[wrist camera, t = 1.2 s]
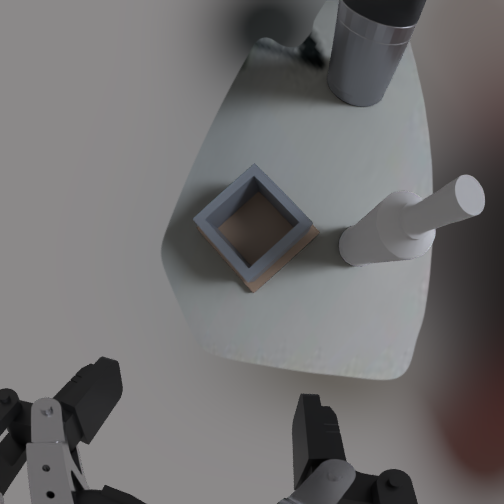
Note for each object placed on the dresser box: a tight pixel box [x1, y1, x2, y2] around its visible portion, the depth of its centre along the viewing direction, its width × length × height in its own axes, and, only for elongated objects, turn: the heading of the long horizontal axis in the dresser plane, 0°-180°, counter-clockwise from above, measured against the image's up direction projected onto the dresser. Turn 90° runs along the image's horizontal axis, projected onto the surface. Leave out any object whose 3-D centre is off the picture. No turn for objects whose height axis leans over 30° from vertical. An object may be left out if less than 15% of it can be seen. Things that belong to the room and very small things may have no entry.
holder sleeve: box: [193, 163, 320, 293], centre depth 34 cm, size 11×11×7 cm
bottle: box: [338, 175, 485, 267], centre depth 23 cm, size 5×5×25 cm
